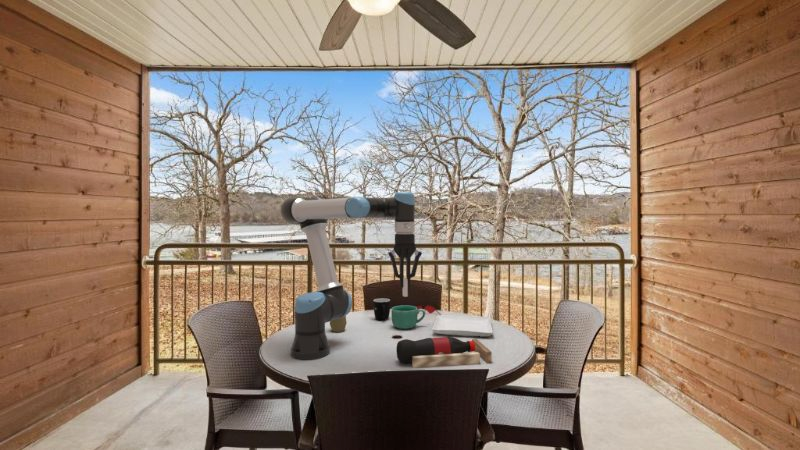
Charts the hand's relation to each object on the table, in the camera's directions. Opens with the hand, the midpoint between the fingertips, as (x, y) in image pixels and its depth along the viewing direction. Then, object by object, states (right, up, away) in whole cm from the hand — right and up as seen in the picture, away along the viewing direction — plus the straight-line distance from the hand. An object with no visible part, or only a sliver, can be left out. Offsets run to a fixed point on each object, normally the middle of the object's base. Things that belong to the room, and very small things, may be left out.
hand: (405, 295), depth 152 cm
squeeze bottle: (-31, -24, +40) cm, 56 cm away
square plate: (+28, -24, +41) cm, 56 cm away
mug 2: (+2, -24, +45) cm, 51 cm away
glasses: (+12, -23, +65) cm, 71 cm away
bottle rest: (+16, -24, +3) cm, 29 cm away
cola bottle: (-3, -20, -2) cm, 21 cm away
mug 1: (-11, -23, +60) cm, 65 cm away
